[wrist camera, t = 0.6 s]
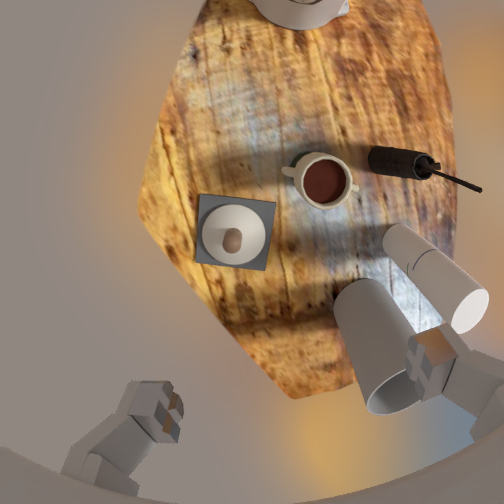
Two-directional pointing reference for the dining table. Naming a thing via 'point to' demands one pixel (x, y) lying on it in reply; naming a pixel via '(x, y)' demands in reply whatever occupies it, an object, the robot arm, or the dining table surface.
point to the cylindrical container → (437, 278)
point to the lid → (233, 234)
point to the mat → (260, 207)
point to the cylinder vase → (376, 345)
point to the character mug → (321, 179)
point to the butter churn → (408, 165)
